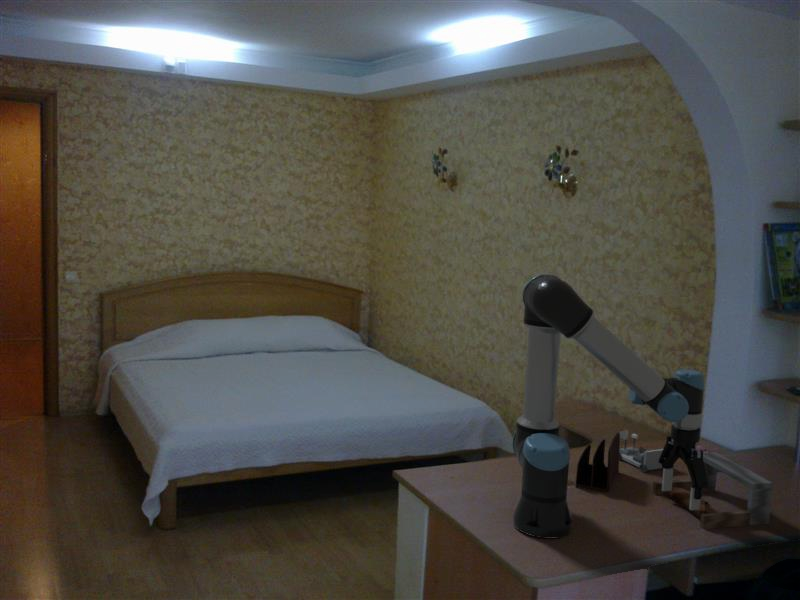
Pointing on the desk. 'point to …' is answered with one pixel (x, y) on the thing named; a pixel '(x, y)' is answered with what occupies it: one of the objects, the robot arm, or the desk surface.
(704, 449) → the video game controller
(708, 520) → the walled lane
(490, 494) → the desk surface
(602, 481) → the letter holder
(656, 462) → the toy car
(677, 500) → the sunglasses case
